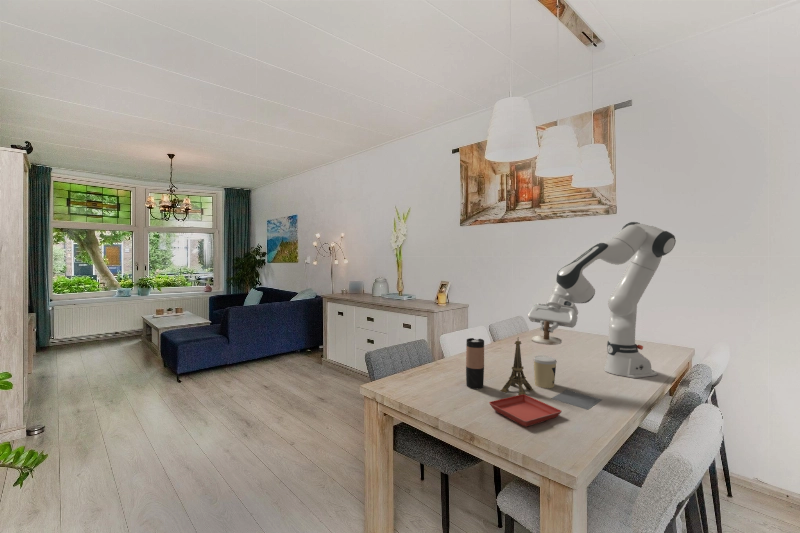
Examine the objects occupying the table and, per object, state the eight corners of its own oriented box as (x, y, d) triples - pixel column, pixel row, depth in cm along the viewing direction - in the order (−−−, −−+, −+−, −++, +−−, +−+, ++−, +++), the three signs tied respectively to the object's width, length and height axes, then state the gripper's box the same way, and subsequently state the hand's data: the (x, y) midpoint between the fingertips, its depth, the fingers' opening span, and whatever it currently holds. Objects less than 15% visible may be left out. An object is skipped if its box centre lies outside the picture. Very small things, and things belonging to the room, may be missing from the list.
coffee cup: (558, 390, 158) (558, 362, 158) (534, 388, 160) (535, 360, 160) (553, 382, 167) (554, 356, 167) (531, 381, 169) (531, 354, 169)
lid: (552, 337, 169) (552, 318, 169) (567, 344, 157) (567, 324, 157) (526, 338, 167) (527, 319, 167) (540, 345, 156) (540, 324, 155)
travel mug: (473, 390, 158) (473, 343, 157) (462, 384, 165) (462, 339, 164) (487, 387, 162) (488, 341, 161) (476, 381, 169) (476, 337, 168)
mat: (566, 390, 158) (566, 389, 158) (602, 400, 148) (602, 399, 148) (550, 399, 149) (550, 398, 149) (588, 410, 139) (588, 409, 139)
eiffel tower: (524, 397, 151) (525, 335, 150) (499, 391, 158) (500, 331, 157) (534, 390, 159) (535, 331, 158) (510, 384, 166) (511, 327, 165)
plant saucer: (523, 401, 148) (523, 393, 148) (562, 419, 132) (563, 410, 132) (487, 410, 139) (487, 402, 139) (525, 431, 123) (525, 421, 123)
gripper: (532, 299, 174) (521, 323, 168) (578, 303, 159) (567, 330, 153) (537, 307, 177) (526, 331, 171) (582, 313, 162) (571, 339, 156)
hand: (545, 331), depth 162 cm, fingers closed on lid, 2 cm apart
